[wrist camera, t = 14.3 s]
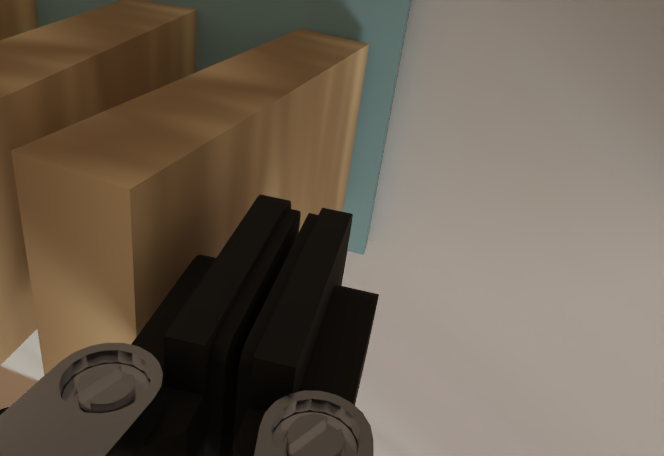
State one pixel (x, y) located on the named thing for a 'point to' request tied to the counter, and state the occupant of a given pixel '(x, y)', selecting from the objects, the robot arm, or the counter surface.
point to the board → (285, 17)
